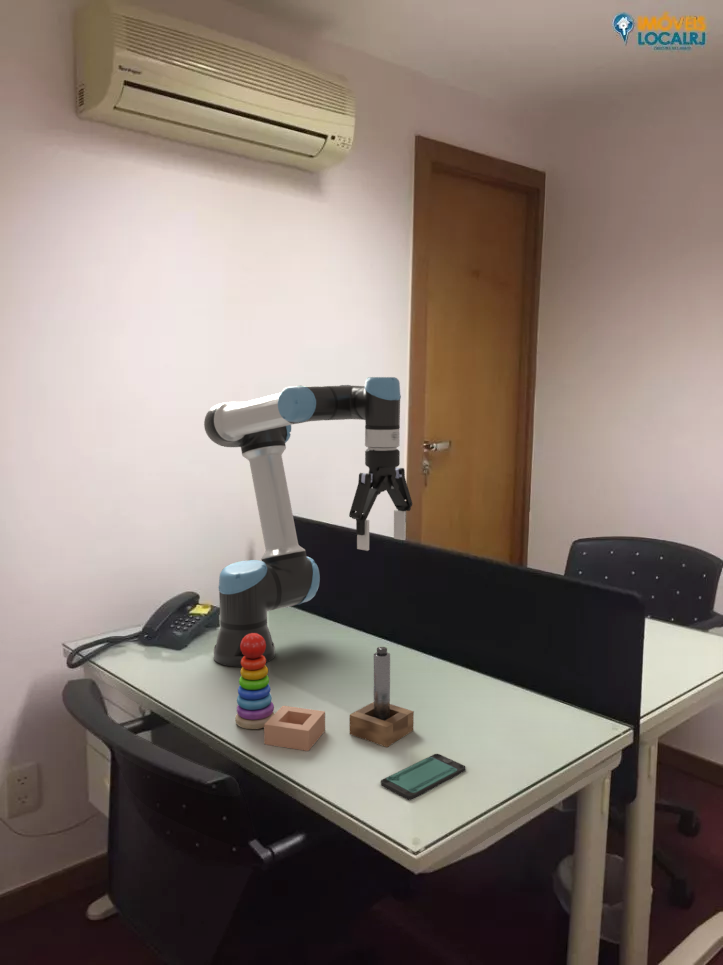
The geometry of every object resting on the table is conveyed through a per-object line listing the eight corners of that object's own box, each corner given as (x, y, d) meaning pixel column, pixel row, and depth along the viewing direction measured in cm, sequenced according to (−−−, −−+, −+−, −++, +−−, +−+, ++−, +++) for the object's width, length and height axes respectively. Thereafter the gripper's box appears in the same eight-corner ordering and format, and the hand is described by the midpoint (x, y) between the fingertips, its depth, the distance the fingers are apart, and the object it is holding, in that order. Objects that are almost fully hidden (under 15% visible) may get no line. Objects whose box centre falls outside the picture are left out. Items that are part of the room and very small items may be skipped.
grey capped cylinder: (370, 733, 155) (370, 649, 153) (379, 727, 158) (380, 644, 155) (383, 737, 153) (383, 652, 151) (392, 731, 156) (393, 648, 153)
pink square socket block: (264, 744, 150) (264, 724, 150) (283, 724, 159) (282, 705, 158) (308, 751, 148) (308, 730, 147) (325, 730, 156) (325, 711, 156)
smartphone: (467, 765, 141) (409, 795, 130) (467, 772, 141) (409, 802, 130) (435, 751, 146) (378, 779, 136) (435, 757, 146) (378, 786, 136)
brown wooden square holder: (349, 734, 155) (349, 714, 154) (376, 718, 162) (377, 699, 161) (386, 747, 149) (386, 727, 149) (413, 730, 156) (413, 711, 156)
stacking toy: (231, 717, 162) (229, 629, 160) (269, 711, 165) (268, 625, 162) (239, 733, 155) (237, 641, 152) (279, 727, 158) (278, 636, 155)
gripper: (360, 454, 159) (360, 556, 162) (428, 445, 179) (427, 537, 182) (332, 451, 164) (332, 551, 167) (401, 443, 183) (400, 533, 186)
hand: (381, 544), depth 174 cm, fingers open, 13 cm apart
